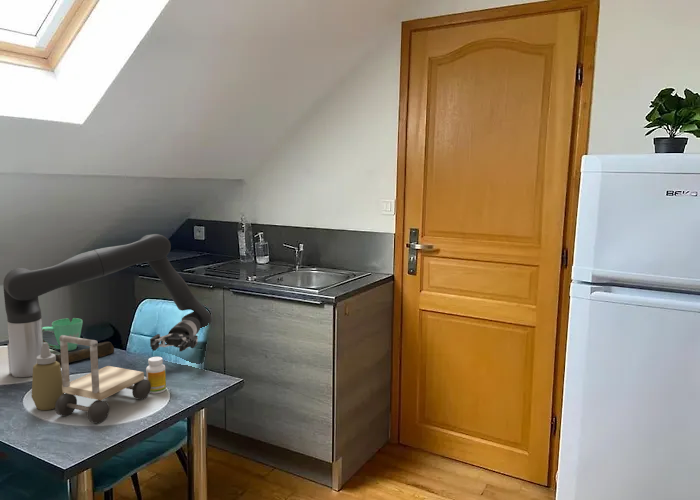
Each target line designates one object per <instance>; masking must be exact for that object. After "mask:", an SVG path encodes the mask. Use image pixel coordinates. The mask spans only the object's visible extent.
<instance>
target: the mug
mask: <svg viewBox="0 0 700 500" xmlns="http://www.w3.org/2000/svg"><path fill="white" fill-rule="evenodd" d="M83 324H84V323H83V319H81V318H76V317H73V318H71V320H70V318H69V317H68V318H67V317H66V318H60V319H57V320H54V321H52V322H51V326H42V333H43V332H46V331H51V332H53V334H54V337H55V340H56V343H57V344H58V345H56V344H51V343H49V342H47V341H46V340H45V339H44V338H43V343H45V342H47V343H48V346H49V349H57V350H61V349H60V340H59V337H60V336H61V335H64V336H71V337H77V338H81V333H82V328H83ZM67 343H68V342H67ZM78 345H79V344H74V343H68V352H72V351H74V350H76V349H77V347H78Z"/></svg>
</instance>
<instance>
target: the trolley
mask: <svg viewBox="0 0 700 500" xmlns="http://www.w3.org/2000/svg"><path fill="white" fill-rule="evenodd" d="M59 340H60V349H59V350H60V354H61V365H60V366H61V372H62V381H63V385H62V391H63V393H64V394H62V395H61V396H60V397H59V398H58V399H57V401H56V404H55V408H54V410H55V413H56V414H57V415H59V416H64V417H66V416H67V417H68V416H69V415H71V414H72V413H74V411H75V410H79V411H83V412H87V420H88V421H89V422H91V423H95V424H101V423H103V422H104V421H105V420H106V419H107V417H108V415H109V412H110V406H109V403H108V402H107V401H105V400H104V399H107V398H109V397H110V396H113V395H114V394H116V393H119V392H121V391H122V390H125V389H126V390H127V389H128V390H132V396H133V397H134V399H136V400H140V401H141V400H145V399H146V398H147V397H148V396H149V395H150V394H151V393H150V389H151V384H150V382H149V380H147V379H145V372H144V371H139V370H135V369H134V370H133V369H128V368H124V367H118V366H117V367H116V366H111V365H106V366H104V367H101V368H99V360H98V359H99V357H98V352H97V344H98V340H95V339H89V338H82V337H80V338H77V337H71V336H64V335H61V336H60V337H59ZM67 342H68V343H74V344H78V345H80V346H88V347H89V348H90V358H89V359H90V373H88V374H85V375H83V376H80V377H78V378H75V379H73V380H72V381H70V380H71V379H70V365H69V360H68V353H69V351H68V343H67ZM77 397H83V398H88V399H91V400H92V399H93V400H94V401H93V402H92V403H91V404H90V405H89V406H86V405H82V404H78V399H77Z"/></svg>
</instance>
